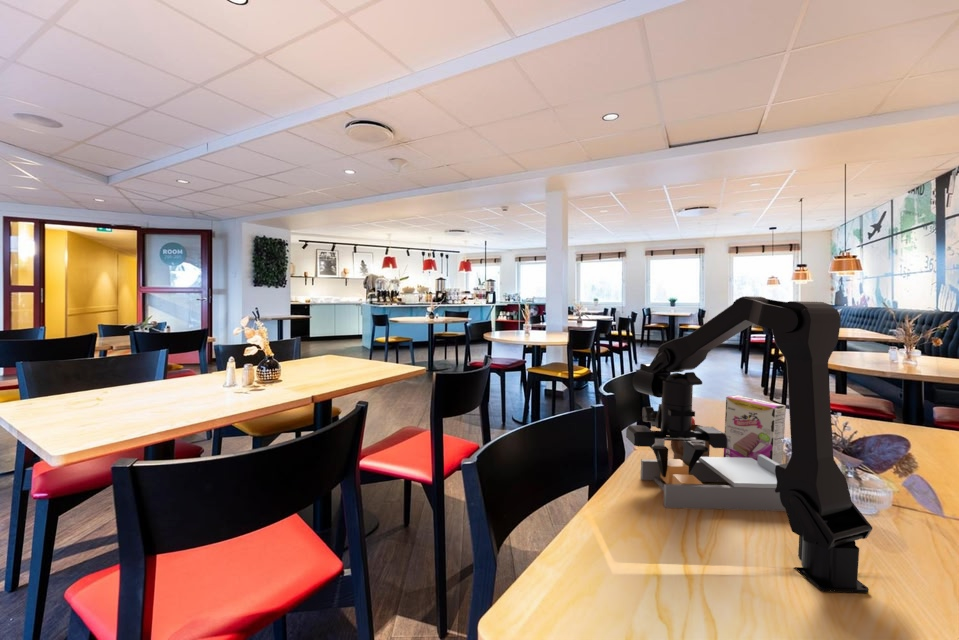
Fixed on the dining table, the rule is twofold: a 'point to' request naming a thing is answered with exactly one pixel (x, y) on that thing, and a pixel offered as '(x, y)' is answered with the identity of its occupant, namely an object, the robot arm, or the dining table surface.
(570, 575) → the dining table surface
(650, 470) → the housing
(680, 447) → the mug
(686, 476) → the orange block
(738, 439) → the candy bar box
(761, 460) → the lid
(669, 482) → the orange cube
